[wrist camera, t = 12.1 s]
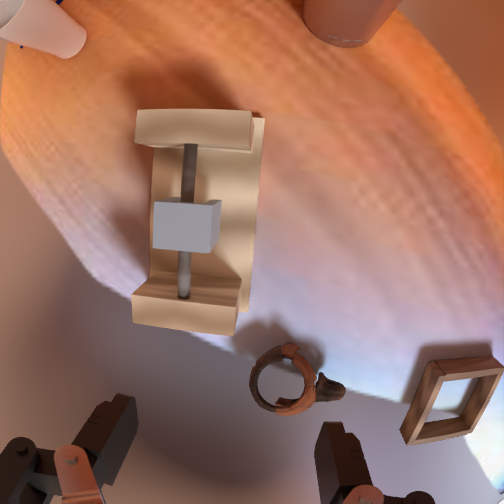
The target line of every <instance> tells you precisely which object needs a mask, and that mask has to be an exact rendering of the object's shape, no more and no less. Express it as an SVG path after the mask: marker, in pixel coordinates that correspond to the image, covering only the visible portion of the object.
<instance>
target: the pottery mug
mask: <svg viewBox="0 0 504 504" xmlns="http://www.w3.org/2000/svg"><path fill="white" fill-rule="evenodd" d="M298 349H299V346H298V345H296V344H284V345H283V346H277V347H275V348H273V349H271V350H269V351H268V352H266V353H265V354H263V355H262V356H261V357H260V358H259V359H258V360H257V361H256V365H255V366H254V367H253V368H252V371H251V375H250V381H249V387H250V391H251V392H252V396H253V397H254V399H255V401H256V402H257V403H258V405H259V406H260V407H262V408H263V409H266V410H268V411H271V412H276V414H277V415H282V416H289V415H295V414H298V413H301V412H303V411H305V410H307V409H308V408H310V407H311V406H312V405H313V404H314V403H315V402H319V401H326V402H328V401H334V400H340V399H341V398H342V397H343V396H344V394H345V391H346V389H345V387H344V386H343V384H341V383H339V382H336V381H333V380H330V379H328V378H326V377H325V376H324V374H323V373H322V372H320V373H319V377H318V381H317V382H316V386H315V385H314V381H315V380H316V379H317V377H316V375H315V372H314V371H313V369H312V367H311V365H310V364H309V363H308V362H307V360H306V359H305V358H304V357H303V356H301V355H300V354H298V353H296V351H297V350H298ZM283 358H289V359H291V360H293V361H292V364H293V365H295V366H296V367H297V368H298V369H299V370H300V371H301V373H302V375H303V377H304V383H305V387H304V391H303V393H302V395H301V397H300V398H298V399H284V398H279V399H278V401H277V402H276V403H275V405H277V406H274V405H271V404H269V403H268V402H266V401H265V400H264V399H263V398H262V397H261V395H260V394H259V391H258V386H257V380H258V376H259V374H260V372H261V371H262V369H264V368H265V367H266V366H267V365H268V364H270V363H273V362H276V361H283Z"/></svg>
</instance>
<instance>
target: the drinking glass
mask: <svg viewBox="0 0 504 504" xmlns="http://www.w3.org/2000/svg"><path fill="white" fill-rule="evenodd" d="M0 38H1V39H3V40H6V41H8V42H11V43H14V44H18V45H21V46H25V47H28V48H32V49H35V50H39V51H42V52H45V53H48V54H51V55H54V56H56V57H58V58H61V59H68V58H71V57H73V56H75V55H76V54H77V53H78V52H79V51H80V50H81V49H82V48H83V46H84V44H85V42H86V39H87V32H86V30H85V28H84V27H83V26H81V25H80V24H78V23H77V22H76V21H75V20H74V19H73V18H72V17H71V16H70V15H69V14H67V13H66V12H65V11H64V10H63V9H62V8H61V7H60V6H59V5H58V4H57V3H56V2H55V1H54V0H0Z"/></svg>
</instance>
